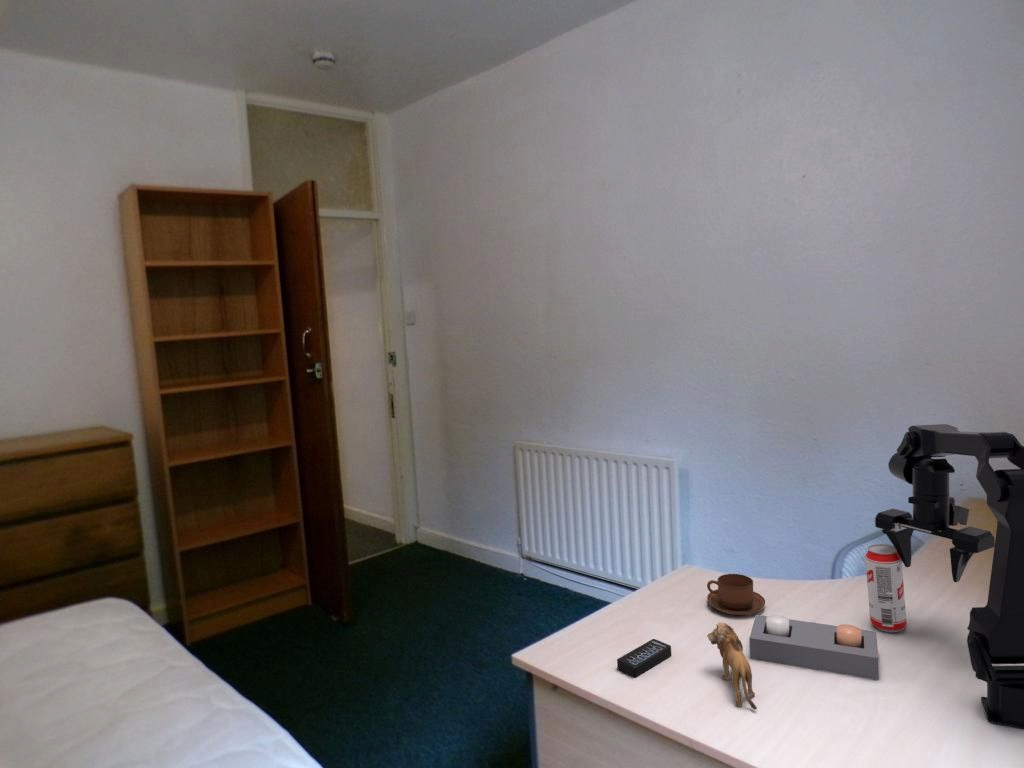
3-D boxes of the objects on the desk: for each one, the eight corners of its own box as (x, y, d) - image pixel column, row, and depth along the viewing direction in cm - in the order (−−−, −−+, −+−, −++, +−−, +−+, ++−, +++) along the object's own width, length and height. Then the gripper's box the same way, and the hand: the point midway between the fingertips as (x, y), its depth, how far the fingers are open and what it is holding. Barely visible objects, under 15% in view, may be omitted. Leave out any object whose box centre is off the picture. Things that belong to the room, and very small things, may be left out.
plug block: (878, 680, 113) (878, 658, 112) (750, 658, 122) (749, 637, 122) (876, 651, 122) (876, 631, 121) (756, 633, 131) (755, 614, 131)
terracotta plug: (861, 655, 116) (861, 636, 116) (836, 651, 118) (836, 632, 118) (861, 644, 120) (861, 626, 119) (836, 640, 122) (836, 622, 121)
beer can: (870, 632, 129) (864, 553, 127) (870, 617, 134) (864, 542, 133) (908, 635, 126) (902, 555, 124) (905, 621, 131) (900, 543, 130)
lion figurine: (705, 667, 120) (704, 620, 119) (733, 663, 121) (732, 617, 120) (741, 714, 106) (739, 662, 105) (772, 710, 106) (771, 658, 105)
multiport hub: (616, 671, 122) (615, 659, 121) (654, 649, 129) (653, 638, 128) (635, 680, 118) (634, 668, 118) (672, 657, 125) (672, 645, 125)
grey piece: (788, 643, 122) (788, 625, 121) (765, 640, 123) (765, 622, 123) (790, 633, 125) (789, 616, 125) (767, 630, 127) (767, 613, 127)
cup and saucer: (709, 618, 139) (707, 590, 138) (706, 594, 151) (705, 568, 150) (769, 621, 136) (768, 593, 135) (761, 596, 148) (760, 570, 147)
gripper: (1012, 494, 116) (1012, 580, 117) (908, 475, 132) (909, 550, 134) (975, 506, 111) (975, 595, 112) (872, 485, 128) (873, 562, 129)
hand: (931, 574), depth 122 cm, fingers open, 8 cm apart
